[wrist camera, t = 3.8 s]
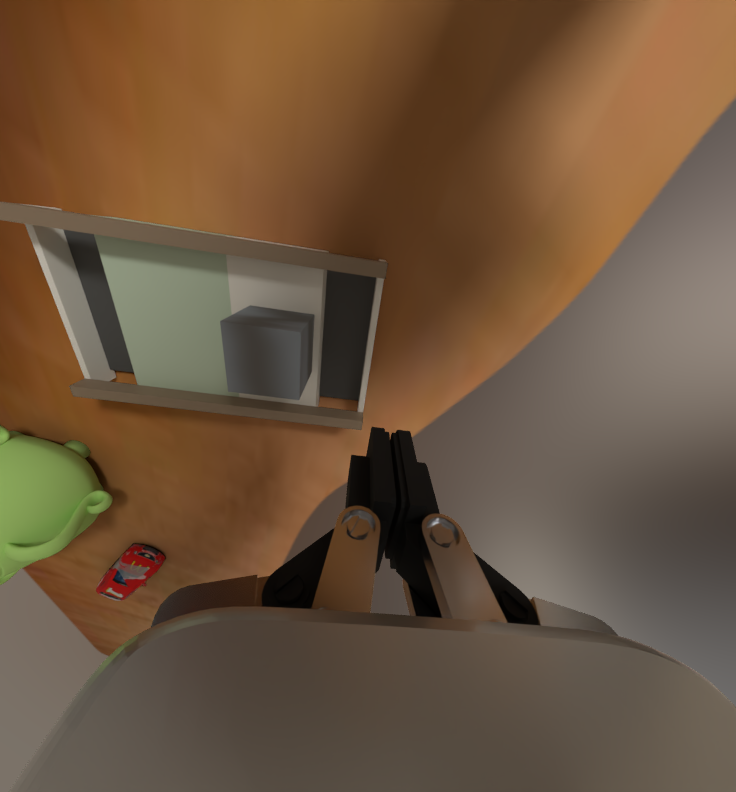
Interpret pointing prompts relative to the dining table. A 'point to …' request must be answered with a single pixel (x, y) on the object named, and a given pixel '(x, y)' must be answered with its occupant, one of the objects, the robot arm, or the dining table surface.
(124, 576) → the race car
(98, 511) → the teapot
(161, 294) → the box
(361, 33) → the dining table surface
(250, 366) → the block
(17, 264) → the dining table surface
